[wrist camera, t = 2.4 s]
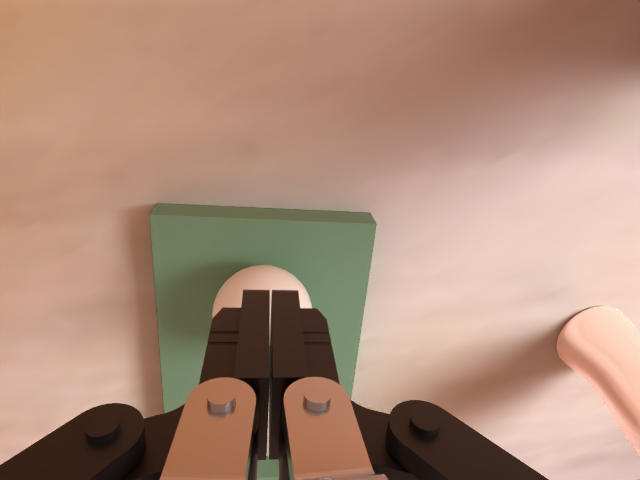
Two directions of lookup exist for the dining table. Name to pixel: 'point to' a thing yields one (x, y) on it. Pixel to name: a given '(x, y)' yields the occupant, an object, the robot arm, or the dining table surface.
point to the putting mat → (245, 251)
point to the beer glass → (607, 362)
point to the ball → (258, 286)
